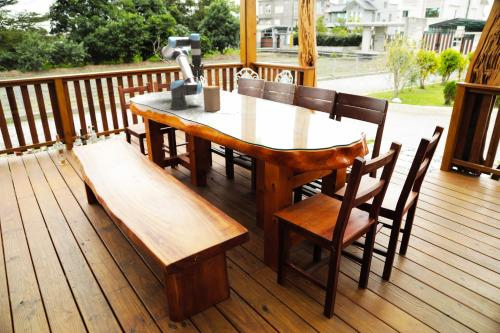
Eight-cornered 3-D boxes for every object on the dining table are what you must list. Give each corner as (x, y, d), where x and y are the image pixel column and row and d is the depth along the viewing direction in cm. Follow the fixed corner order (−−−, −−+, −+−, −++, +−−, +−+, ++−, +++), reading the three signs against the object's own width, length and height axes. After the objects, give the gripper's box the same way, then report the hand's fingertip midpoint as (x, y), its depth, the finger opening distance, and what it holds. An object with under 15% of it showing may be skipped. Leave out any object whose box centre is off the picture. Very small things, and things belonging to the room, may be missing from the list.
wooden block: (212, 112, 267) (211, 87, 260) (204, 111, 273) (202, 86, 265) (220, 110, 275) (219, 86, 267) (212, 109, 280) (211, 85, 273)
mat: (215, 112, 266) (215, 112, 266) (222, 109, 278) (222, 108, 278) (234, 113, 261) (234, 113, 261) (240, 110, 273) (240, 109, 273)
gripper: (186, 54, 259) (188, 85, 268) (201, 54, 255) (203, 85, 264) (190, 54, 266) (193, 83, 274) (205, 54, 262) (207, 84, 271)
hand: (198, 84), depth 269 cm, fingers closed
